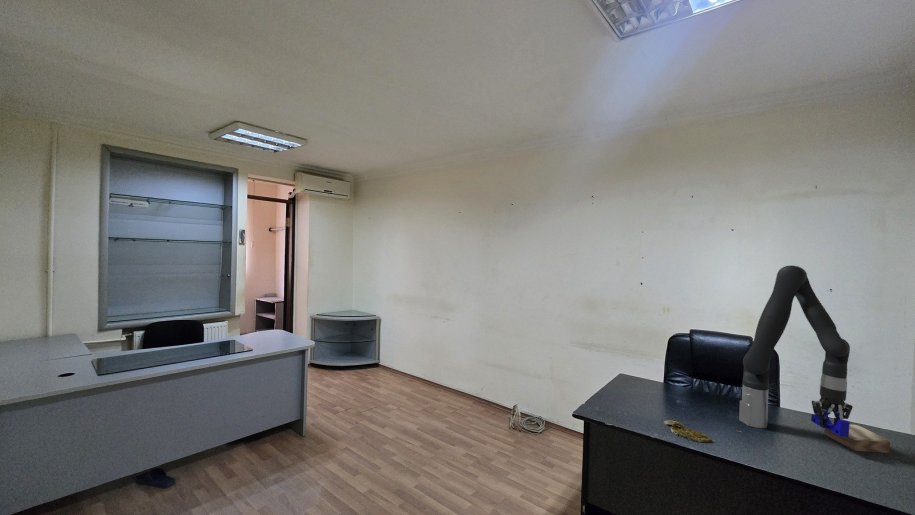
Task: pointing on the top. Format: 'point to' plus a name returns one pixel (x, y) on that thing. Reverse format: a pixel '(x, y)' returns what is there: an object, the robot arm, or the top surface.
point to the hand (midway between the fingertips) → (830, 427)
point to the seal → (689, 433)
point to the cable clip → (839, 428)
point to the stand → (861, 440)
